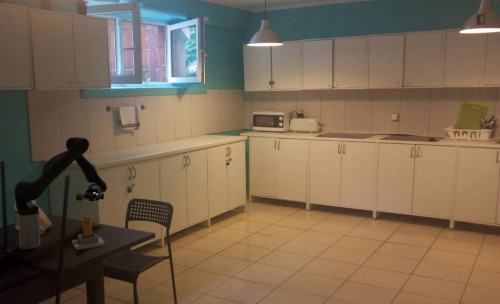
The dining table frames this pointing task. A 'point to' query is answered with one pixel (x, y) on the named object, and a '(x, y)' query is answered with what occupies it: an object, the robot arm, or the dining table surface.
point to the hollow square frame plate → (88, 242)
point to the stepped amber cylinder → (87, 227)
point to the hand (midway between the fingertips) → (88, 199)
